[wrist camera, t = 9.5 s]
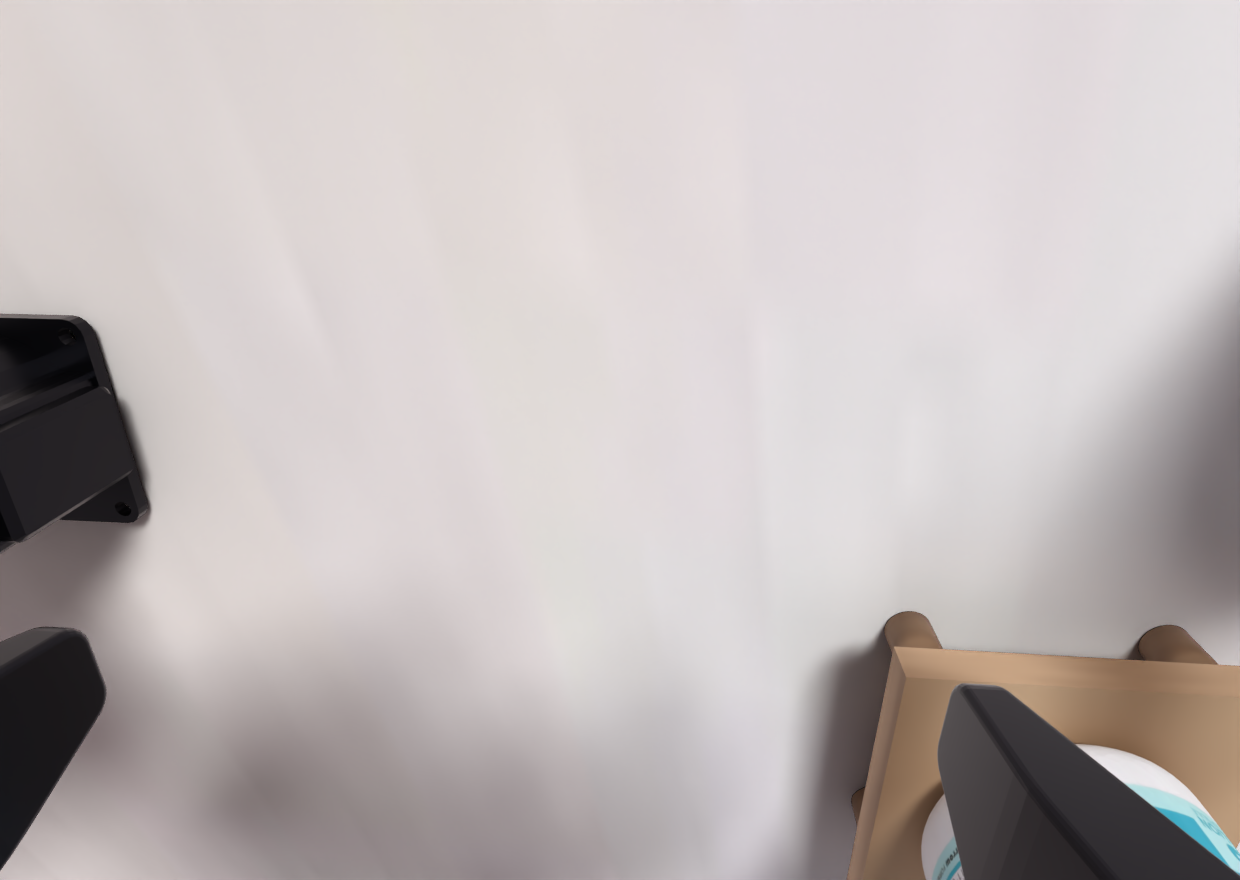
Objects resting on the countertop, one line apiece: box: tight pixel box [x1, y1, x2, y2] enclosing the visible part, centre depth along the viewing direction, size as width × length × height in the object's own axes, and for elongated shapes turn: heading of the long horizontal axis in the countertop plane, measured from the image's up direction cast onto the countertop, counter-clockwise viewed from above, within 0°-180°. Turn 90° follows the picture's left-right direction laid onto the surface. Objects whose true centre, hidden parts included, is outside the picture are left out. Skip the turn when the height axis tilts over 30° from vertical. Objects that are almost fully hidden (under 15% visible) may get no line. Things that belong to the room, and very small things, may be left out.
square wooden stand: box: [847, 611, 1240, 880], centre depth 22 cm, size 10×10×4 cm
